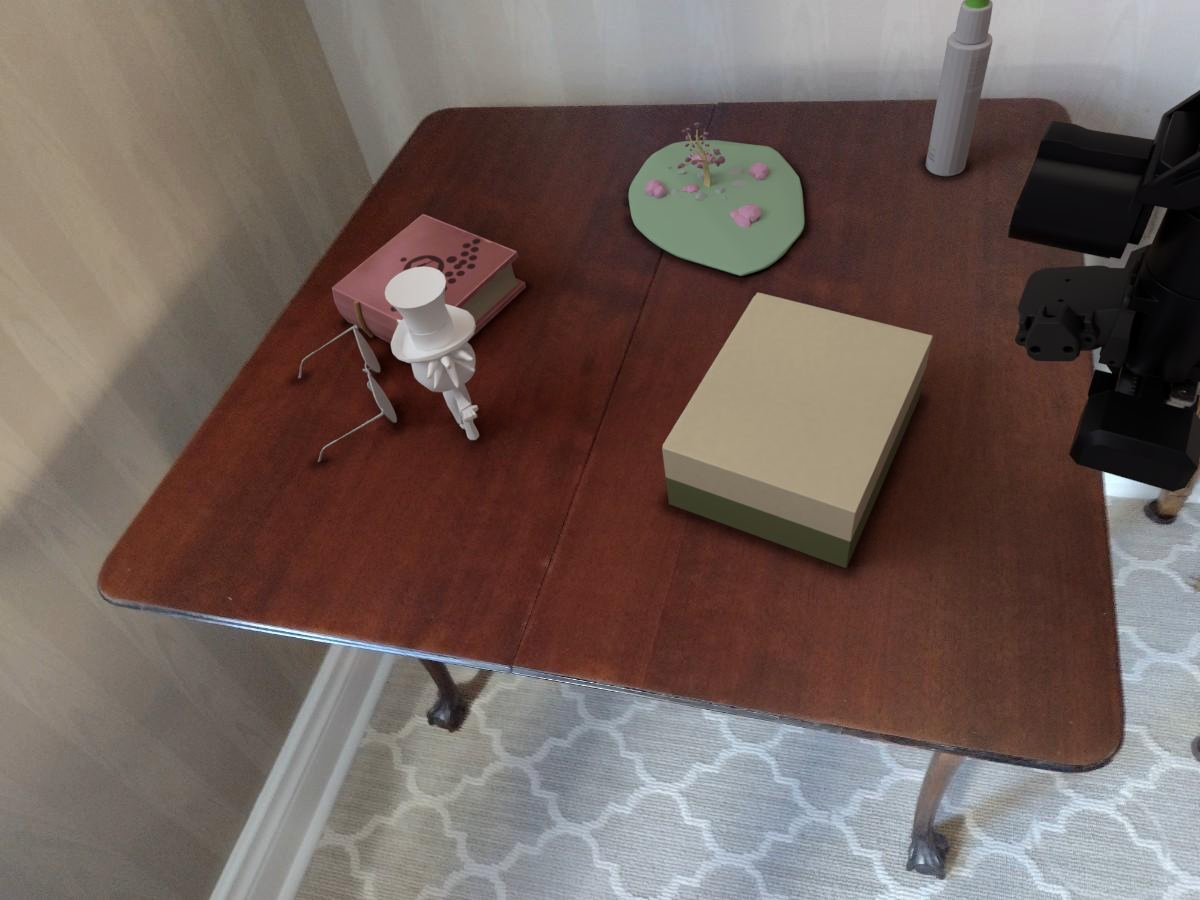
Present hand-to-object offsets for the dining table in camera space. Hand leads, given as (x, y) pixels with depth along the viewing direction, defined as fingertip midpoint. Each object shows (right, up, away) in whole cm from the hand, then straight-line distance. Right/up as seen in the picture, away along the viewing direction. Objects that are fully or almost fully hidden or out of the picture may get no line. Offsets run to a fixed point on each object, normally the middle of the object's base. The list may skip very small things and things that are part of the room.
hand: (1113, 442), depth 62 cm
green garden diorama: (-21, +28, +42) cm, 55 cm away
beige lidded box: (-18, -1, +18) cm, 26 cm away
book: (-54, +15, +37) cm, 68 cm away
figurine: (-49, +2, +25) cm, 55 cm away
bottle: (+4, +32, +41) cm, 53 cm away
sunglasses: (-62, +4, +29) cm, 68 cm away
